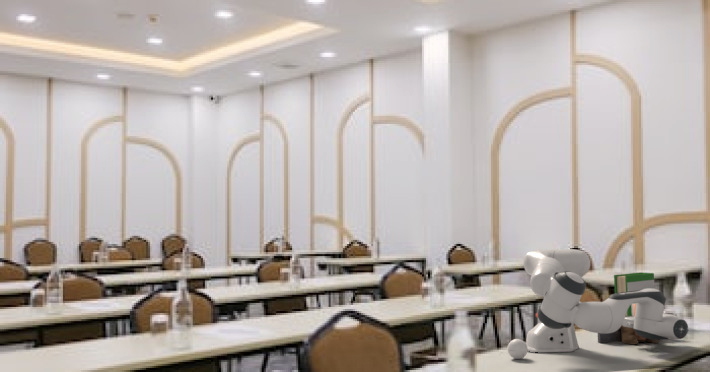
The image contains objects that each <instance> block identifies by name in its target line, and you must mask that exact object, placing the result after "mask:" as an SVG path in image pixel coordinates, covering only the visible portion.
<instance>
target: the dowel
mask: <svg viewBox="0 0 710 372" xmlns="http://www.w3.org/2000/svg"><path fill="white" fill-rule="evenodd" d="M635 311H636V304H633V314H634V316H635ZM635 336H637V340H645V339H646V338H644V337H641V336H639V335H638V334H637V333H636V332H635Z"/></svg>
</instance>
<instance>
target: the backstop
mask: <svg viewBox="0 0 710 372" xmlns="http://www.w3.org/2000/svg"><path fill="white" fill-rule="evenodd" d="M625 317H633V316H625ZM668 339H669V338H666V337H665V338H664V339H663V340H668ZM597 343H599V344H606V343H607V344H608V343H610V344H611V343H623V342H622V334H621V327H620V328H619V329H618V330H617V331H615V332H613V333H607V334H603V333H597Z"/></svg>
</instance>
